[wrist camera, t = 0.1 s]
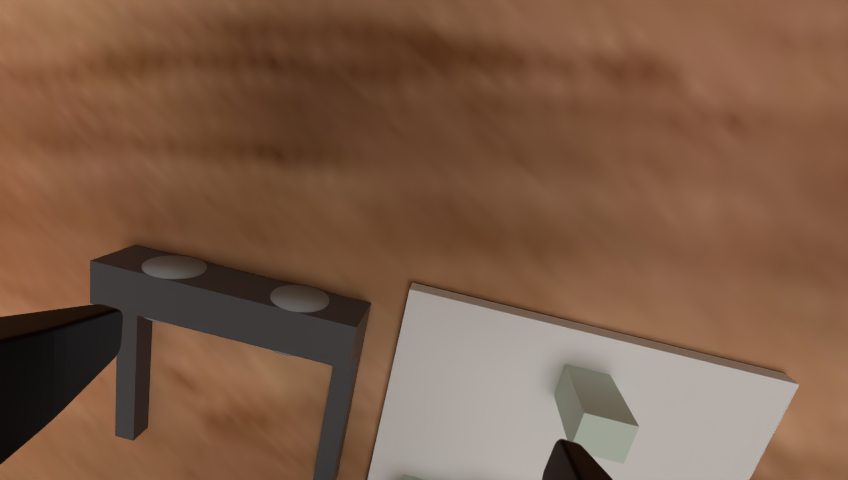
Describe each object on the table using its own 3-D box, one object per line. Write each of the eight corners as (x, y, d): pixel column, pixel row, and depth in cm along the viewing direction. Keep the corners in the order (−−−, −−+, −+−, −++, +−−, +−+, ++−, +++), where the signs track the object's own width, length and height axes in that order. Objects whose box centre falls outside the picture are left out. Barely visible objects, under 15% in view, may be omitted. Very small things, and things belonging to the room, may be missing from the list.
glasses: (336, 478, 27) (320, 520, 24) (130, 422, 28) (90, 456, 25) (371, 301, 24) (357, 325, 21) (135, 243, 25) (90, 258, 22)
